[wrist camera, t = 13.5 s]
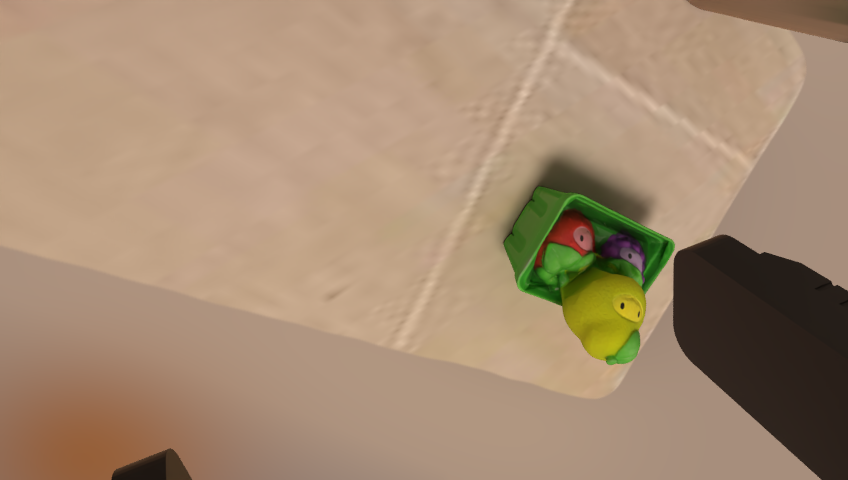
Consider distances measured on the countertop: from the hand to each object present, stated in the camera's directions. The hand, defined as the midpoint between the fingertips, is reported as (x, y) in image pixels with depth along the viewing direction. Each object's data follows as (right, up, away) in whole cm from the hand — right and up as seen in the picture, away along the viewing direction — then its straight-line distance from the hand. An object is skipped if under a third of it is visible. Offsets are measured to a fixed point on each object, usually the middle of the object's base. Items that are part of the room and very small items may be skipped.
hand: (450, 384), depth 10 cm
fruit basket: (+10, +2, +41) cm, 43 cm away
